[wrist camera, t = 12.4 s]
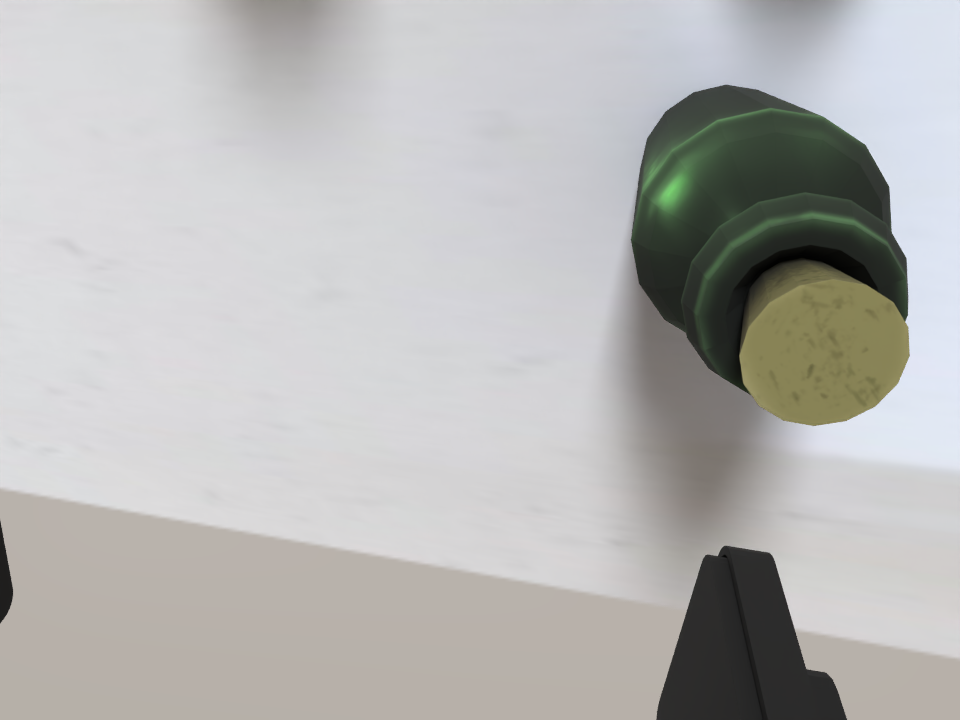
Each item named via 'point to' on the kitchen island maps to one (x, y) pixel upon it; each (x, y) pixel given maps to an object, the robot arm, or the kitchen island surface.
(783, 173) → the potion bottle
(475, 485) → the kitchen island surface
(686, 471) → the kitchen island surface
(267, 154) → the kitchen island surface
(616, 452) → the kitchen island surface
